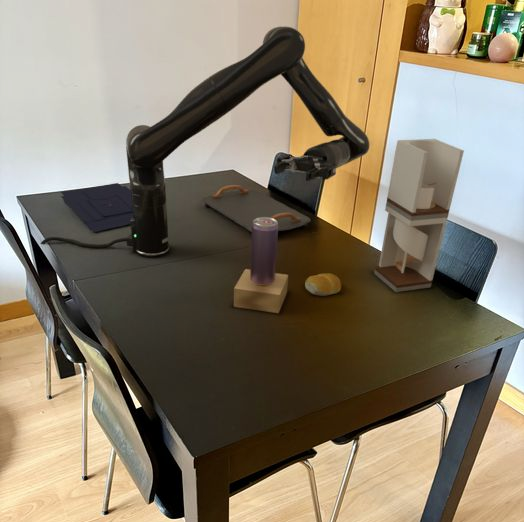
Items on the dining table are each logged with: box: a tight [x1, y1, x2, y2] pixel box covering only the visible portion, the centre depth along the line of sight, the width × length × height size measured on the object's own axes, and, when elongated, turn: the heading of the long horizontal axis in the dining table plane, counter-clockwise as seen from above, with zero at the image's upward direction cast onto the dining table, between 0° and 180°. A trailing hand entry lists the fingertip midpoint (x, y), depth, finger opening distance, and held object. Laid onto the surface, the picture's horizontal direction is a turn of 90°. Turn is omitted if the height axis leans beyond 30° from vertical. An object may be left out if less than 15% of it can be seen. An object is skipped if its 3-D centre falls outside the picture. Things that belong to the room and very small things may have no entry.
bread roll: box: [304, 272, 342, 297], centre depth 140 cm, size 8×9×4 cm
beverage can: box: [249, 217, 279, 286], centre depth 128 cm, size 6×6×15 cm
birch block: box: [233, 268, 289, 314], centre depth 133 cm, size 11×11×5 cm
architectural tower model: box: [373, 138, 465, 293], centre depth 137 cm, size 11×11×35 cm
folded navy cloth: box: [60, 182, 133, 233], centre depth 179 cm, size 24×30×4 cm
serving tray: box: [201, 184, 311, 233], centre depth 180 cm, size 39×23×6 cm, turn 34°
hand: (291, 172), depth 128 cm, fingers open, 8 cm apart
